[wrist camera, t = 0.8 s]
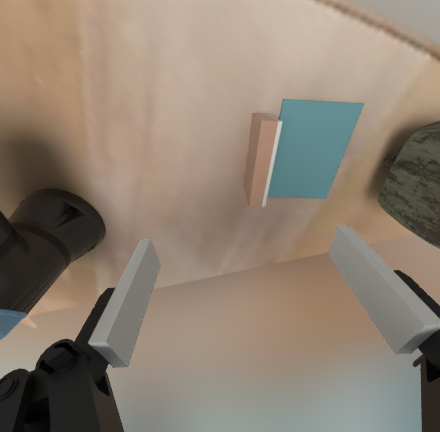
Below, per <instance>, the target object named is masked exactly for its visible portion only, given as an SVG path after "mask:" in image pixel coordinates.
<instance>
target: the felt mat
mask: <svg viewBox="0 0 440 432" xmlns="http://www.w3.org/2000/svg"><path fill="white" fill-rule="evenodd" d="M363 105H364V104H363V103H344V102H325V101H305V100H285V99H283V103H282V108H281V113H280V118H279V120H281V121H283V122H282V127H281V132H280V136H279V141H278V146H277V151H276V156H275V161H274V166H273V171H272V175H271V180H270V185H269V190H268V195H267V196H274V197H299V198H323V199H326V197H327V194H328V192H329V189H330V187H331V185H332V182H333V180H334V177H335V175H336V172H337V170H338V167H339V165H340V162H341V160H342V157H343V155H344V152H345V150H346V147H347V145H348V142H349V140H350V137H351V135H352V132H353V130H354V127H355V125H356V122H357V120H358V118H359V115H360V113H361V110H362V108H363Z"/></svg>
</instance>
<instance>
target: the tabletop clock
mask: <svg viewBox="0 0 440 432" xmlns="http://www.w3.org/2000/svg"><path fill="white" fill-rule="evenodd" d="M384 164H385V165H386V166H392V167H391V169H390V171H389V173H388V175H387V177H386V179H385V182H384V184H383V186H382V188H381V190H380V194H379V199H378V202H379V203H380V205H381V207H382V208H383V209H384V210H385V211H386V212H387V213H388V214H389V215H391V216H392V217H393V218H394V219H395V220H396V221H398V222H399V223H400V224H401V225H403V226H404V227H405V228H407V229H408V230H410V231H411V232H413V233H414V234H416V235H418V236H419V237H421V238H422V239H424V240H425V241H427V242H428V243H430V244H432V245H434V246H436V247H438V248H440V121H439V122H436V123H434V124H430V125H426V126H425V127H423V128H421V129H420V130H418V131H416V132H415V133H414V134H413V135H412V136H411V137H410V138H409V139H408V140H407V141H406V143H405V144H404V146H403V148H402V149H401V151H400V153H399V155H398V156H397V158H395V157H387V158H386V159H385V160H384Z"/></svg>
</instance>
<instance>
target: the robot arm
mask: <svg viewBox="0 0 440 432" xmlns="http://www.w3.org/2000/svg"><path fill="white" fill-rule="evenodd" d="M104 233H105V228H104V224H103V221H102V219H101V217H100V216H99V214H98V213H97V212H96V210H95V209H94V208H93V207H92V206H91V205H89V204H88V203H87V202H85V201H84V200H82V199H81V198H79V197H77V196H75V195H73V194H71V193H68V192H65V191H61V190H55V189H45V190H40V191H37V192H35V193H33V194H32V195H30V196H28V197H26V198H25V199H24V200H23V201H22V202H21V203H20V205H19V206H18V208H17V209H16V210H15V211H14V213H13V214H12V215H11V216H10V218H9V219H8V220H7V219H6V217H5V216H4V215H3V214H2V212H1V211H0V340H1V339H3V338H4V337H5V336H6V335H7V334H8V333H9V332H10V331H11V330H12V329H13V328H14V327H15V326H16V325H17V324H18V323H19V322H20V321H21V320H22V319H23V318H25V317H26V316H27V315H28V313H29V312H30V310H31V309H32V308H33V307H34V306H35V304H36V303H37V302H38V301H39V300H40V298H41V297H42V296H43V295H44V294H45V293H46V291H47V290H48V289H49V288H50V287H51V285H52V284H53V283H54V282H55V281H56V279H57V278H58V277H59V276H60V275H61V273H62V272H63V271H64V270H65V269H66V267H67V266H68V265H69V264H70V263H71V262H73V261H74V260H76V259H78V258H79V257H81V256H83V255H84V254H86V253H87V252H89V251H91V250H92V249H94V248H95V247H96V246H97V245H98V243H99V242H100V241H101V240H102V238H103V236H104ZM328 255H329V256H330V258H331V260H332V261H333V263H334V264H335V266H336V267H337V268H338V270H339V271H340V273H341V274H342V276H343V277H344V279H345V280H346V282H347V283H348V285H349V286H350V288H351V289H352V291H353V292H354V294H355V295H356V297H357V298H358V300H359V301H360V303H361V304H362V306H363V307H364V309H365V310H366V311H367V313H368V315H369V316H370V318H371V319H372V321H373V322H374V323H375V325H376V326H377V328H378V329H379V331H380V332H381V334H382V335H383V337H384V338H385V340H386V341H387V343H388V344H389V346H390V347H391V349H392V350H393V352H394V353H395V354H407V353H412V352H413V351H415V350H416V349H417V348H419V350H420V351H421V352H422V353H423V355H421V356H420V357H419V358H418V359H416V360H415V361H414V362H413V366H414V367H416V366H418V365H419V364H420V363H421V369H420V370H421V404H422V405H421V407H422V432H440V306H439V305H438V304H437V303H436V302H435V301H434V300H433V299H432V298H431V297H430V296H429V295H427V293H426V292H425V291H424V290H423V289H422V288H420V287H419V285H418V284H417V283H416V282H414V281H413V279H412V278H410V277H409V276H407V275H406V274H404V273H402V272H401V271H399V270H394V271H393V270H392V269H391V268H390V267H389V266H388V265H387V264H386V263H385V262H384V261H383V260H382V259H381V258H380V257H379V256H378V255H377V254H376V253H375V252H374V251H373V250H372V249H371V247H370V246H369V245H368V244H367V243H366V242H365V241H364V240H363V239H362V238H361V237H360V236H359V235H358V234H357V233H356V232H355V231H354V230H353V229H352V228H351V227H350V226H349V225H345V226H338V227H337V229H336V232H335V235H334V238H333V241H332V244H331V247H330V250H329V253H328ZM159 268H160V262H159V260H158V257H157V254H156V251H155V249H154V246H153V243H152V240H151V239H140V241H139V243H138V245H137V247H136V249H135V251H134V253H133V255H132V257H131V259H130V261H129V263H128V265H127V267H126V268H125V270H124V272H123V274H122V276H121V278H120V280H119V282H118V284H117V286H116V288H107V289H106V290H105V292H104V293H103V294H102V295H101V296H100V297H99V299H98V301H97V302H96V304H95V307H94V308H93V309H92V311H91V314H90V315H89V317H88V318H87V320H86V322H85V324H84V325H83V327H82V329H81V331H80V333H79V335H78V336H77V338H76V340H75V341H74V342H73V341H72V340H70V339H63V340H60V341H58V342H56V343H54V344H52V345H51V346H50V347H49V348H47V349H46V350H45V352H44V353H43V354H42V355H41V356H40V358H39V360H38V361H37V363H36V368H35V370H33V371H31V372H29V371H27V370H25V369H17V370H14V371H12V372H10V373H8V374H7V375H5V376H4V377H3V378H2V379H0V432H124V430H123V426H122V423H121V419H120V416H119V412H118V409H117V406H116V402H115V399H114V395H113V392H112V388H111V385H110V382H109V378H108V375H107V373H106V369H107V366H108V364H110V365H111V366H112V367H113V368H114V367H128V366H129V363H130V359H131V356H132V353H133V350H134V347H135V344H136V340H137V337H138V334H139V331H140V328H141V325H142V321H143V318H144V315H145V312H146V309H147V306H148V303H149V299H150V296H151V293H152V290H153V287H154V284H155V281H156V278H157V274H158V271H159Z"/></svg>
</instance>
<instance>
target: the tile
mask: <svg viewBox="0 0 440 432" xmlns="http://www.w3.org/2000/svg"><path fill="white" fill-rule="evenodd" d="M282 122H283V121H281V120H279V119H277V118H275V117H273V116H272V115H270V114H259V113H253V114H252V123H251V131H250V139H249V147H248V155H247V163H246V171H245V180H244V188H245V192H246V196H247V201H248V205H249V207H265V205H266V200H267V195H268V190H269V185H270V180H271V175H272V171H273V166H274V161H275V156H276V151H277V146H278V141H279V136H280V132H281V127H282Z"/></svg>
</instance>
